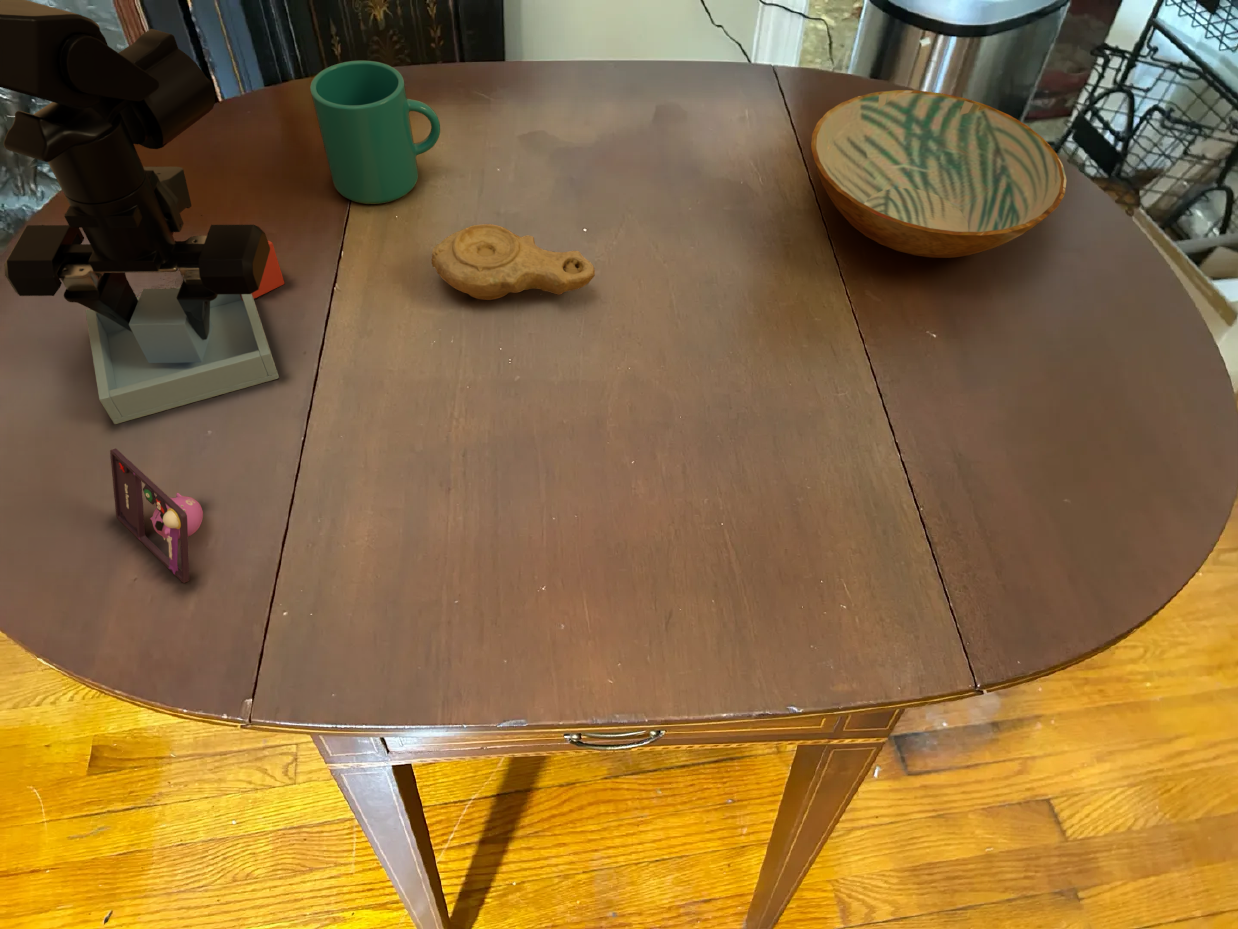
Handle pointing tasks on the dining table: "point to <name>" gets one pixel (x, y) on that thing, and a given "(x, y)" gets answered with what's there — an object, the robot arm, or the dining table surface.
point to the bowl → (935, 172)
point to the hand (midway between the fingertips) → (177, 336)
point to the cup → (369, 130)
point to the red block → (269, 275)
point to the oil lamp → (506, 264)
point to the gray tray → (156, 387)
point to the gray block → (166, 329)
